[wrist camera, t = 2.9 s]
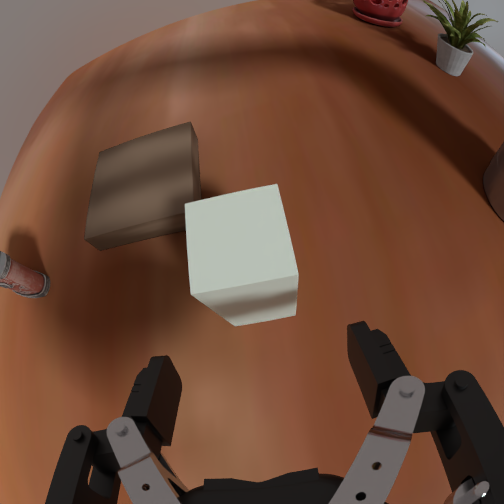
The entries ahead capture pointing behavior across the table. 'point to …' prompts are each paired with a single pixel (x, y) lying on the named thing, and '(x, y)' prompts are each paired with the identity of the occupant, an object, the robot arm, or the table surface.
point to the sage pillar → (242, 256)
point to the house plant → (456, 38)
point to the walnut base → (143, 188)
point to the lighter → (22, 278)
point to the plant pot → (380, 11)
